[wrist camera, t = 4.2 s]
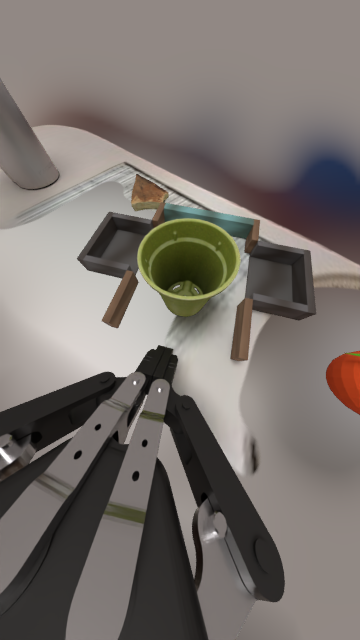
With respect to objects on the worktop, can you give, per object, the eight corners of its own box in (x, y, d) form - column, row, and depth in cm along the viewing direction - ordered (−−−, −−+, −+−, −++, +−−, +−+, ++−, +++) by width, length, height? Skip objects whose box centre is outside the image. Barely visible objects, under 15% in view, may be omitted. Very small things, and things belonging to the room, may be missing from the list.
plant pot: (227, 305, 20) (263, 262, 11) (177, 341, 18) (175, 320, 10) (190, 265, 22) (197, 206, 14) (143, 293, 20) (118, 243, 12)
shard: (138, 182, 31) (135, 171, 29) (169, 182, 31) (169, 172, 29) (131, 211, 27) (128, 201, 26) (167, 212, 27) (167, 202, 26)
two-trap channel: (61, 312, 19) (44, 305, 17) (125, 209, 27) (120, 194, 24) (301, 378, 16) (322, 380, 14) (295, 242, 24) (308, 229, 22)
